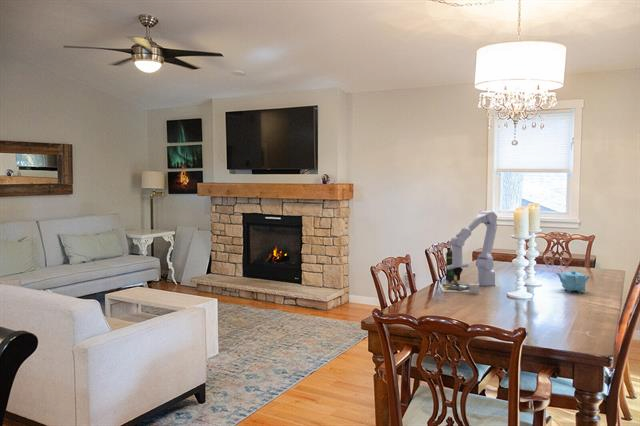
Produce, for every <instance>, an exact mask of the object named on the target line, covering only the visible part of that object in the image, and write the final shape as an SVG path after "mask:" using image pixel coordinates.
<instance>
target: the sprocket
mask: <svg viewBox="0 0 640 426" xmlns="http://www.w3.org/2000/svg"><path fill="white" fill-rule="evenodd" d="M469 284H470V283H468V282H467V283H462V282H458V281H457V275H454V280H453V281H452V282H449V283H446V282H445V283H442V284H441V285H442V286H444V287H445V289H454V290H459V291H463V290H465V289H469Z"/></svg>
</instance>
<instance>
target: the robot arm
mask: <svg viewBox="0 0 640 426" xmlns="http://www.w3.org/2000/svg"><path fill="white" fill-rule="evenodd" d="M475 216H476V217H475V218H474V219H473V220H472V221H471V222H470V223H469V225H468V226H467V227H464V228H463V227H462V228H461V230H460V231H459V232H458V234H456V235H455V236H453V237H452V238H451V239H450V241H449V244H450V246H451V251H452V265H448V266H445V267H446V269H453V271H454V273H455V275H457V282H458V281H461V274H462V272H463V270H464V269H463V268H468V267H469V263H463V247H464V246H465V242H466V241H467V239H469V237H471V236H472V233H473V231H474V230H475V229H476V228H478V226H479V225H480V224H484V225H485V227H486V230H485V237H484V241H483V246H482V250H481V253H479V254H478V256H477V259H476V260H475V267H477V273H478V275H477V280H478V281H477V282H476V283H475V284H479V287H480V286H483V287H484V286H486V287H487V286H488V287H489V286H492V287H493V286H494V287H495V286H496V270H494V266H495V265H494V257H493V256H492V252H493V248H494V243H495V238H496V234H497V229H498V223H497V222H498V221H497V220H498V215H497V214H496V213H495V212H494V211H492V210H491V211H489V210H488V211H487V210H480V211H479V212H478V213H477V214H476V215H475ZM446 269H445V270H446Z"/></svg>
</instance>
